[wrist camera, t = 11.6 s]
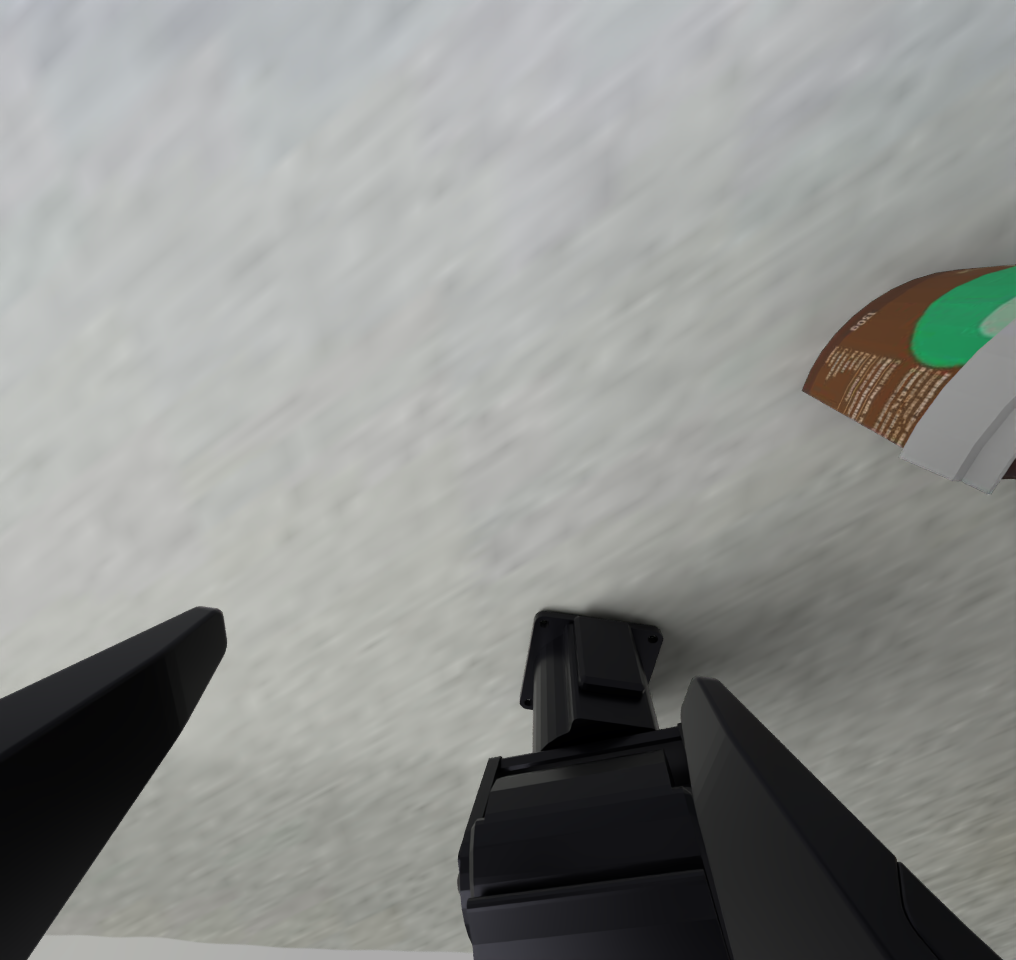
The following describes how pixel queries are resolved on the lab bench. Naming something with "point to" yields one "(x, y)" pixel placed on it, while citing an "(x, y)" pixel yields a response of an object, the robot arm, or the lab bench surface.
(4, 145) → the lab bench surface
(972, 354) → the food container
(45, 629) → the lab bench surface
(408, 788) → the lab bench surface
